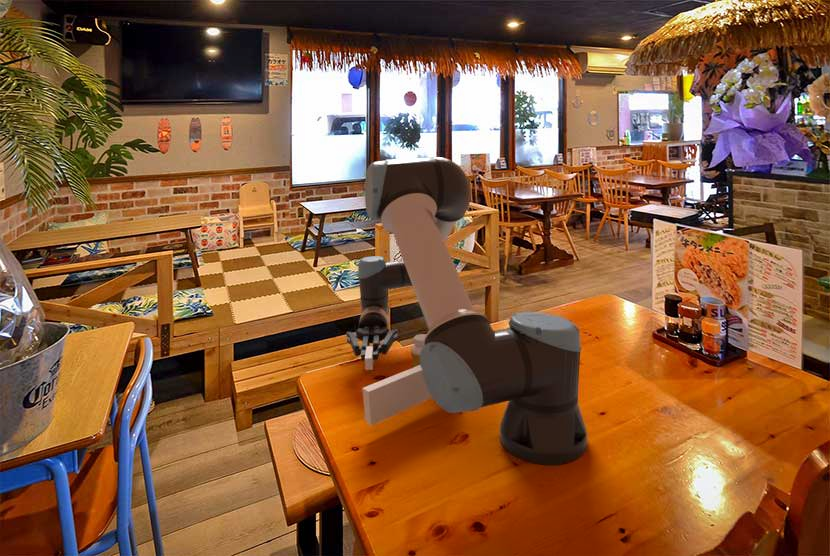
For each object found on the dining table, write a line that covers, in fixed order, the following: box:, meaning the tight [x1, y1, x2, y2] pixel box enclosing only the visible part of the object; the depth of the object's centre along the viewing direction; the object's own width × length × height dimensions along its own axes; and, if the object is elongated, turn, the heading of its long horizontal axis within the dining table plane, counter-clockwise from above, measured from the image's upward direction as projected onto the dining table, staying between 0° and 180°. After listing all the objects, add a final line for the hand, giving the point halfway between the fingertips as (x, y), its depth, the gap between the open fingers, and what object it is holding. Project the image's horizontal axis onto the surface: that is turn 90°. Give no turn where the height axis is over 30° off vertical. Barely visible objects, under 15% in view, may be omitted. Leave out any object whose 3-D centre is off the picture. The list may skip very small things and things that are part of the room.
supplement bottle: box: [410, 333, 427, 368], centre depth 115 cm, size 5×5×10 cm
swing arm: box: [361, 365, 433, 427], centre depth 98 cm, size 20×2×7 cm, turn 128°
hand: (368, 364), depth 107 cm, fingers closed
